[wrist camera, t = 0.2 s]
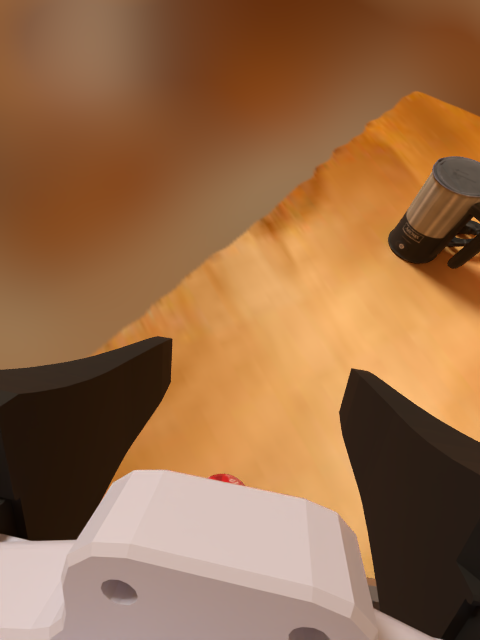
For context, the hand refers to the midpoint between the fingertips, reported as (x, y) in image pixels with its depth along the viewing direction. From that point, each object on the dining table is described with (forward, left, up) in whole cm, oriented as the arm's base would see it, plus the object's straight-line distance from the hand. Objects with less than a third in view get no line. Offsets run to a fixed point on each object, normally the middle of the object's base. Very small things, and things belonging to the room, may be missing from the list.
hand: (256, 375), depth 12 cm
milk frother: (+41, -30, -31) cm, 60 cm away
